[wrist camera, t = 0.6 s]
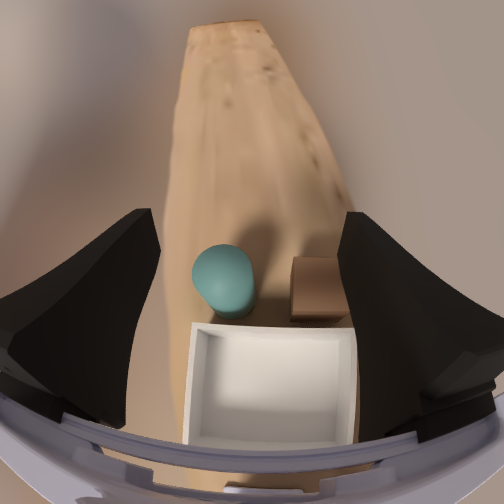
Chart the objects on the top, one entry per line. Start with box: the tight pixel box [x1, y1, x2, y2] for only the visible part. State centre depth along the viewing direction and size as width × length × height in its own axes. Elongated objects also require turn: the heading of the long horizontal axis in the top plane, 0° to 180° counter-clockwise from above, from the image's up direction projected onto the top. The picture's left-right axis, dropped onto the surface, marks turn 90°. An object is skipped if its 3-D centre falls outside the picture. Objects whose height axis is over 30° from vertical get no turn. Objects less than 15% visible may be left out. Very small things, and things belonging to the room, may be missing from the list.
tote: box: [182, 322, 357, 451], centre depth 22 cm, size 12×14×5 cm
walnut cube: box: [290, 257, 350, 322], centre depth 26 cm, size 5×5×5 cm
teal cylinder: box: [192, 244, 256, 319], centre depth 26 cm, size 5×5×7 cm
